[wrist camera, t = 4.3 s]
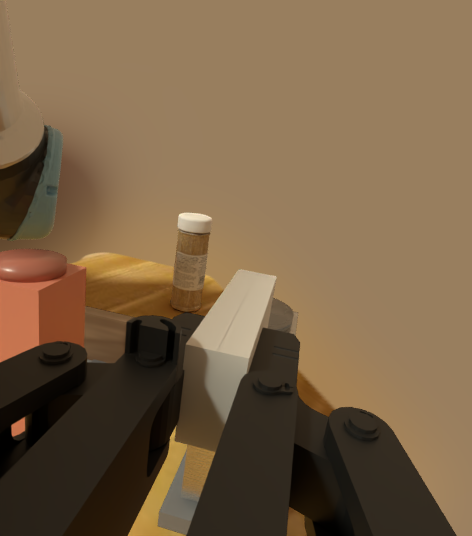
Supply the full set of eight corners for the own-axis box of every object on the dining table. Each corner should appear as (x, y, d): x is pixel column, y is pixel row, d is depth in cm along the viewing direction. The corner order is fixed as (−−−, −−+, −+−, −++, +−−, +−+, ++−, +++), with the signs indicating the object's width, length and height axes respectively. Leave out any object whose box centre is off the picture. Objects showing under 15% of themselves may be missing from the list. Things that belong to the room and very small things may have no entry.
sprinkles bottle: (182, 297, 60) (192, 210, 56) (207, 307, 58) (219, 217, 54) (163, 305, 56) (171, 213, 52) (188, 316, 54) (199, 220, 50)
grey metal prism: (257, 519, 24) (296, 335, 20) (180, 496, 25) (204, 314, 21) (267, 459, 29) (300, 301, 25) (202, 442, 30) (225, 285, 26)
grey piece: (43, 490, 26) (43, 412, 24) (-48, 462, 27) (-56, 385, 25) (138, 374, 40) (142, 319, 38) (75, 358, 41) (76, 303, 39)
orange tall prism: (40, 455, 26) (38, 277, 23) (-25, 436, 27) (-38, 261, 23) (82, 409, 31) (86, 256, 27) (26, 394, 32) (22, 243, 28)
